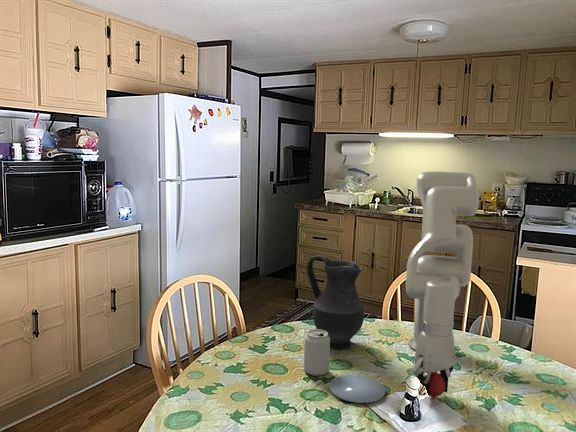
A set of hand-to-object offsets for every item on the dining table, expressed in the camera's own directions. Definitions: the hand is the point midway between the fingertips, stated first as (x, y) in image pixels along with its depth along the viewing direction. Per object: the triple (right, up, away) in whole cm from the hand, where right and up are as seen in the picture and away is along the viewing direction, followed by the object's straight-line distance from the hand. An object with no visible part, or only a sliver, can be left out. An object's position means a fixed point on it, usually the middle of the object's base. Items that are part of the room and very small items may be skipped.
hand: (433, 392), depth 128 cm
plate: (-20, -1, +3) cm, 20 cm away
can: (-30, +1, +14) cm, 34 cm away
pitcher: (-24, +3, +36) cm, 43 cm away
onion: (0, -2, 0) cm, 2 cm away
